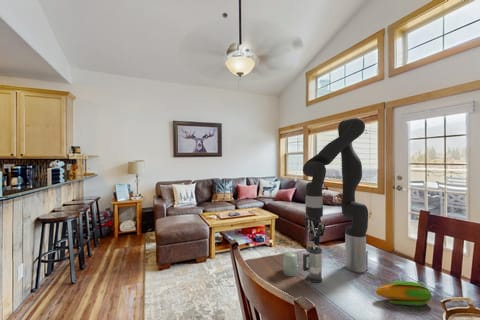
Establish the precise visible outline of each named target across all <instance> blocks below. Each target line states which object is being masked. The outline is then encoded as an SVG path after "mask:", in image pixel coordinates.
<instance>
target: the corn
mask: <svg viewBox="0 0 480 320" xmlns="http://www.w3.org/2000/svg"><path fill="white" fill-rule="evenodd" d="M375 293H376V294H377V295H378V296H381V297H383V298H386V299H389V300H388V301H387V302H388V303H390V304H393V305H394V304H395V305H401V306H403V305H404V306H416V307H417V306H419V307H420V306H425V305H427V304H428V303H430V300H431V298H432V292H431V291H430V290H429V289H428V288H427V287H426V286H424V285H422V284H421V283H420V282H414V281H407V280H406V281H405V280H400V281H399V280H398V281H396V280H395V281H390V284H385V285H382V286H379V287H377V288H376V289H375Z"/></svg>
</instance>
